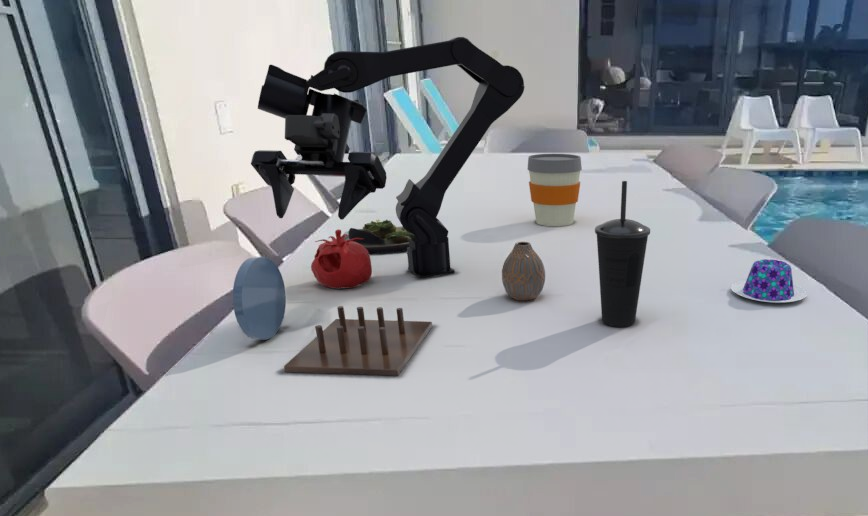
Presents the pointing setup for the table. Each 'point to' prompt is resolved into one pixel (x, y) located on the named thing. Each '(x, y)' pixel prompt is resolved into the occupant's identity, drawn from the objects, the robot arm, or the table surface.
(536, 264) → the vase
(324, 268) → the pomegranate
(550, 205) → the reusable coffee cup
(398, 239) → the salad plate
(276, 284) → the plate
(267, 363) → the table surface
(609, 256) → the drinking cup
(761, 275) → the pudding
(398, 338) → the rack
